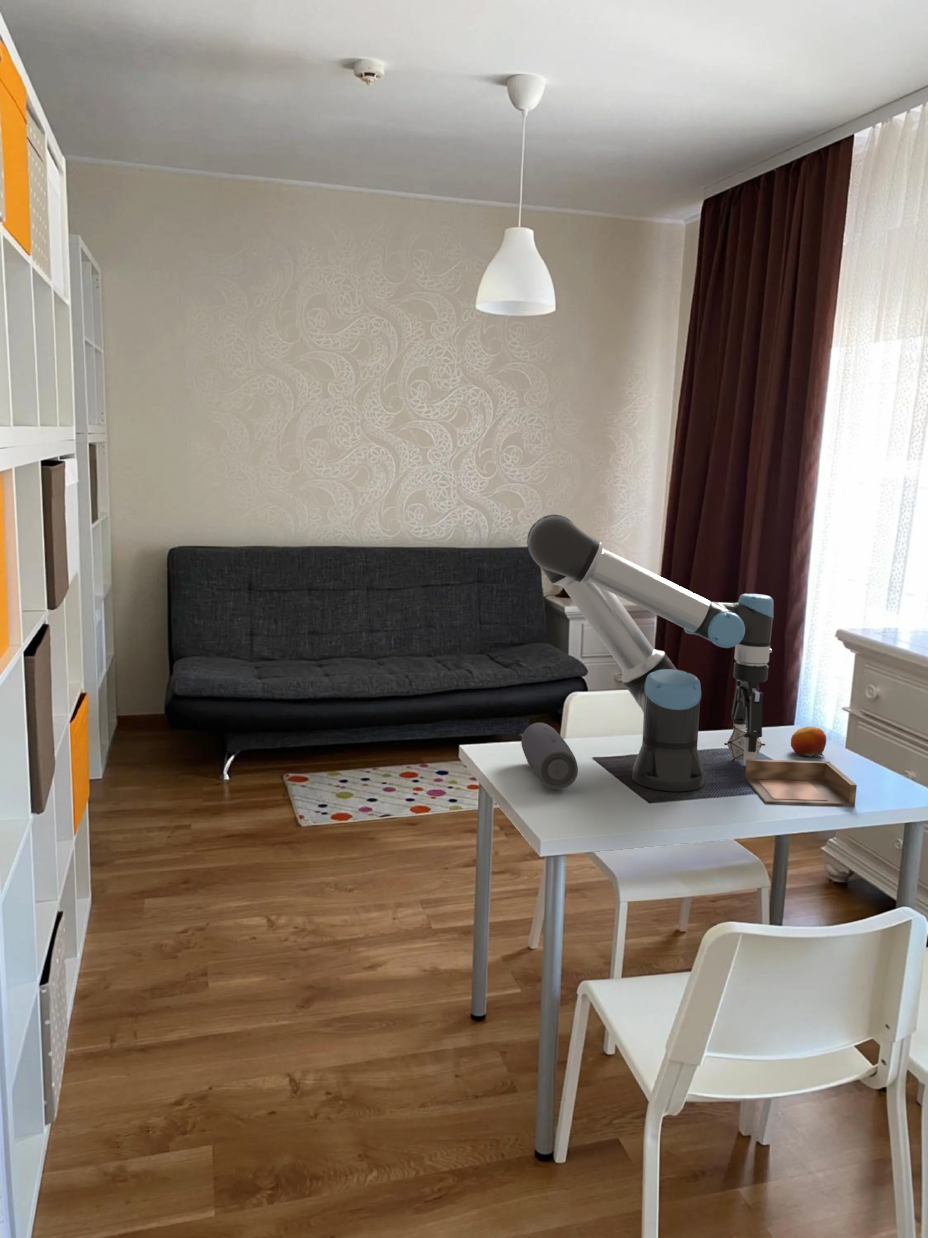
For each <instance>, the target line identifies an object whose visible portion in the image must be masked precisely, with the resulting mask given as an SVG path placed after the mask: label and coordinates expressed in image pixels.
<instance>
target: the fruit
mask: <svg viewBox="0 0 928 1238" xmlns="http://www.w3.org/2000/svg"><path fill="white" fill-rule="evenodd" d="M826 745H827V735H826V733H825V732H824V731H823V730H822V729H821V728H819V727H816V726H806V727H802V728H799V729H797V730H796V731H795V732H794V733H793V734H792V735H791V738H790V747H791V748H792V750H793V751H794V752H795V753H796V754H797V755H799V756H802V757H809V758H812V757H813V756H814V755H815V756H816V755H819V756H822V757H823V758H825V756H824V754H823V753H824V751H825V747H826Z"/></svg>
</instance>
